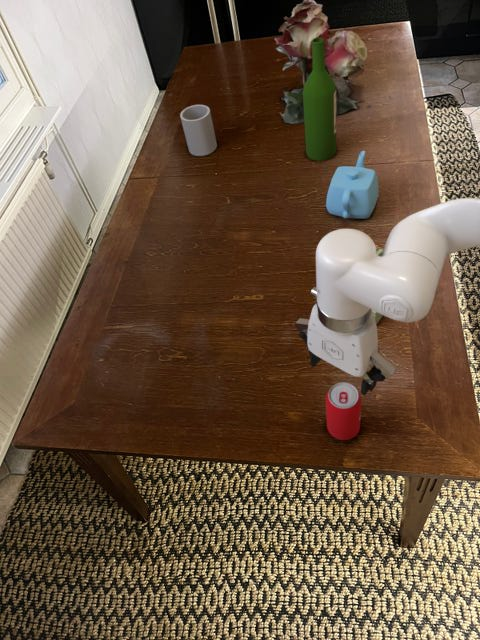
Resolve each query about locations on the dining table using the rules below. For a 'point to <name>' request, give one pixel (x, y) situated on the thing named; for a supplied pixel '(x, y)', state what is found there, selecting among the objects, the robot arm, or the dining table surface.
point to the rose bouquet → (339, 56)
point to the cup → (198, 130)
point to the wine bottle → (319, 108)
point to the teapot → (353, 191)
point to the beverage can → (343, 411)
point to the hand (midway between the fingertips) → (341, 374)
